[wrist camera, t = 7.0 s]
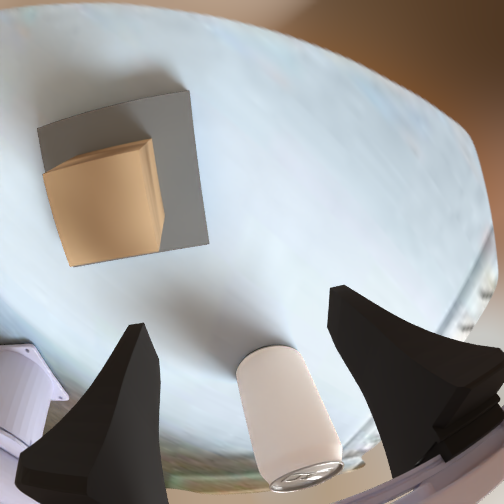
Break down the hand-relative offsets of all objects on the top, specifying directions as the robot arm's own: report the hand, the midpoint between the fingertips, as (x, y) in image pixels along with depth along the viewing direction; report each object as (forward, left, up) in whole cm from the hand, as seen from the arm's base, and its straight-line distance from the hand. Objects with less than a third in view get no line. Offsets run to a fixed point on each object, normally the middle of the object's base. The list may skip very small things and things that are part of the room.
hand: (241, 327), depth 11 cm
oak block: (-5, +4, -8) cm, 10 cm away
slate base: (-5, +4, -10) cm, 12 cm away
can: (+3, -15, -10) cm, 18 cm away
